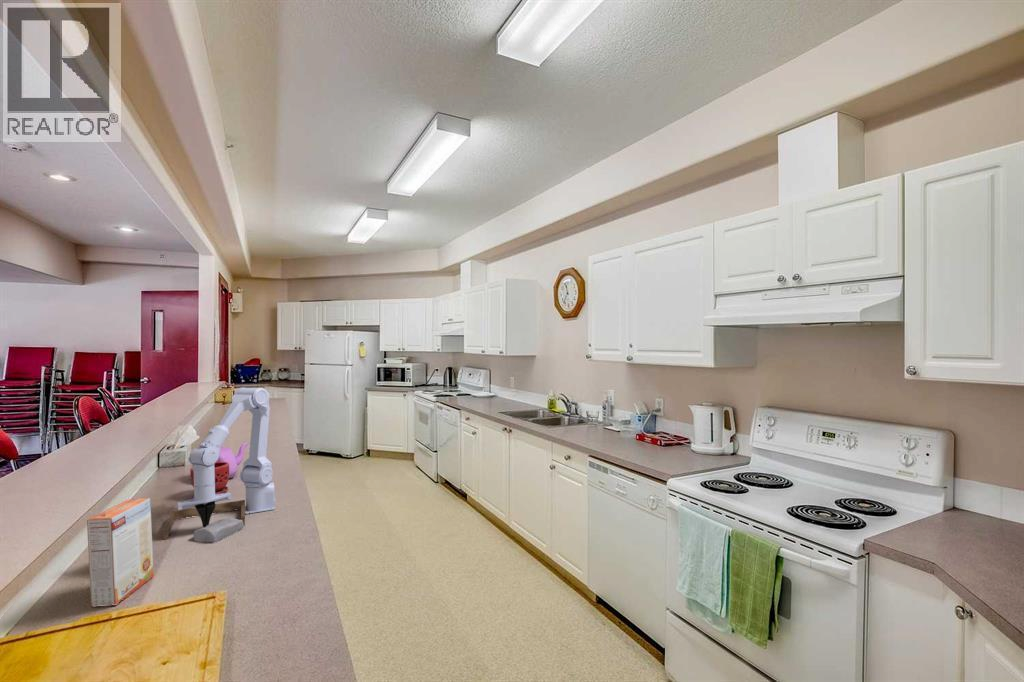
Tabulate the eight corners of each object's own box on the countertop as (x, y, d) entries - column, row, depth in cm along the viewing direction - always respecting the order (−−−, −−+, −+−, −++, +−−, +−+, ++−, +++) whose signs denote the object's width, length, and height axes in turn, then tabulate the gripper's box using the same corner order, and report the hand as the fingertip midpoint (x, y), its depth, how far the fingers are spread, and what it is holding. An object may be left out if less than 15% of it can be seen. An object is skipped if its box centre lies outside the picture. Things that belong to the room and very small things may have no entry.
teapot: (200, 489, 202) (199, 452, 201) (189, 479, 217) (188, 445, 217) (260, 477, 218) (259, 443, 217) (245, 468, 233) (244, 436, 232)
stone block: (190, 547, 150) (216, 543, 147) (187, 531, 150) (214, 527, 148) (221, 533, 161) (246, 529, 159) (219, 518, 162) (244, 514, 159)
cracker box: (130, 578, 127) (127, 498, 126) (154, 577, 127) (152, 497, 127) (88, 608, 113) (85, 518, 113) (115, 607, 113) (113, 517, 113)
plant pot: (236, 489, 200) (235, 460, 200) (218, 500, 187) (217, 469, 187) (203, 490, 200) (203, 461, 200) (183, 501, 187) (182, 470, 187)
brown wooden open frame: (245, 507, 178) (244, 499, 178) (244, 525, 161) (244, 516, 161) (171, 519, 168) (171, 511, 168) (163, 539, 151) (163, 530, 151)
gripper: (227, 477, 165) (228, 517, 165) (175, 486, 156) (176, 528, 156) (232, 481, 160) (233, 523, 160) (178, 491, 150) (179, 535, 150)
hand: (205, 526), depth 157 cm, fingers closed
